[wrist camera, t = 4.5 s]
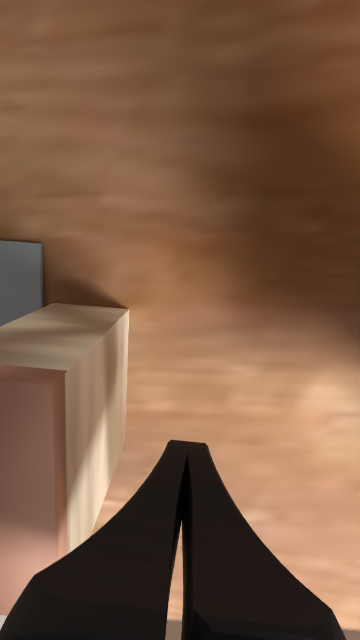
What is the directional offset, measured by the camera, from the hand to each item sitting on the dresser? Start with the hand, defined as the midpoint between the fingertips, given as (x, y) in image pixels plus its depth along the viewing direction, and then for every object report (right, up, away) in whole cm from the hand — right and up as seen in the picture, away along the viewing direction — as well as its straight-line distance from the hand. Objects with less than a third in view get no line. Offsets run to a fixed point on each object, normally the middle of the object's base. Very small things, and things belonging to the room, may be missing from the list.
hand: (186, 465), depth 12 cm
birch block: (-5, +2, +7) cm, 9 cm away
